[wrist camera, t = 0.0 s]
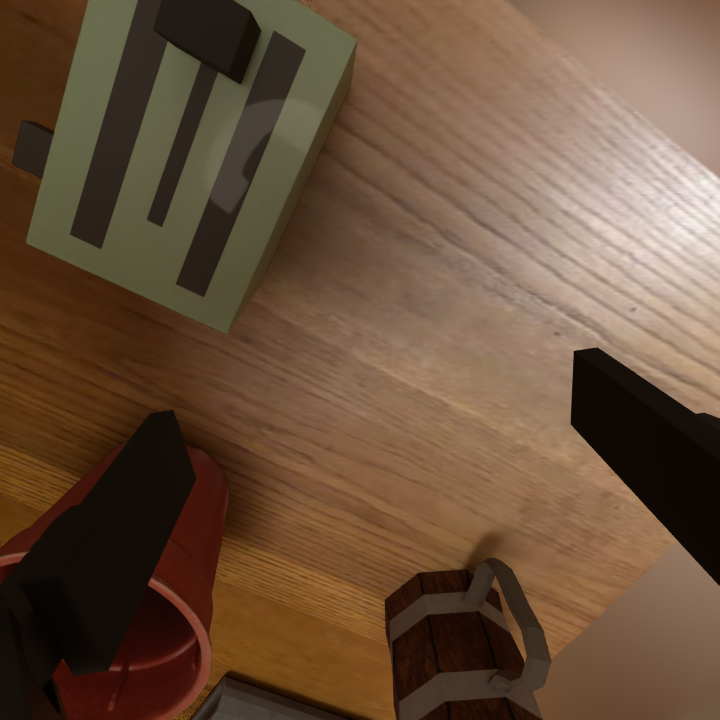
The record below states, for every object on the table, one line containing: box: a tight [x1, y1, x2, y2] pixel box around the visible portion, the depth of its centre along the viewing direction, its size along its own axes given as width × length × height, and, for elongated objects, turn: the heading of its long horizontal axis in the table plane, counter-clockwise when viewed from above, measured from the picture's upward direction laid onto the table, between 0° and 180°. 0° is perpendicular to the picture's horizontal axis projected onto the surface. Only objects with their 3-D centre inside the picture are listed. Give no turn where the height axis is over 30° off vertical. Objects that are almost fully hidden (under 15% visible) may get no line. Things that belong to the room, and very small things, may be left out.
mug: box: [385, 558, 551, 720], centre depth 43 cm, size 20×14×15 cm
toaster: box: [12, 0, 358, 334], centre depth 27 cm, size 16×14×11 cm
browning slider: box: [153, 0, 261, 84], centre depth 19 cm, size 2×3×3 cm
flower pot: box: [0, 441, 230, 720], centre depth 35 cm, size 16×16×16 cm
